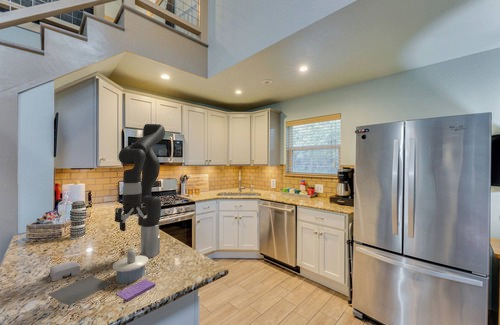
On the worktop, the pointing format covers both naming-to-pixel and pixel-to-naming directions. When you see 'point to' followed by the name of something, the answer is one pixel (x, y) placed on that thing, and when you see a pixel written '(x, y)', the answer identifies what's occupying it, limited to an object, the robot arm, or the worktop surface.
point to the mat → (79, 290)
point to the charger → (64, 270)
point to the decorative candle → (77, 220)
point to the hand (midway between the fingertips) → (132, 228)
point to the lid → (130, 262)
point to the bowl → (130, 275)
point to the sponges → (136, 290)
